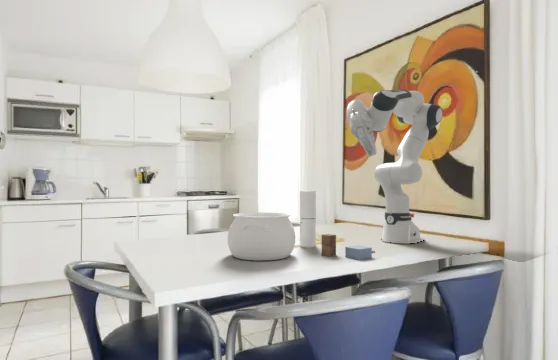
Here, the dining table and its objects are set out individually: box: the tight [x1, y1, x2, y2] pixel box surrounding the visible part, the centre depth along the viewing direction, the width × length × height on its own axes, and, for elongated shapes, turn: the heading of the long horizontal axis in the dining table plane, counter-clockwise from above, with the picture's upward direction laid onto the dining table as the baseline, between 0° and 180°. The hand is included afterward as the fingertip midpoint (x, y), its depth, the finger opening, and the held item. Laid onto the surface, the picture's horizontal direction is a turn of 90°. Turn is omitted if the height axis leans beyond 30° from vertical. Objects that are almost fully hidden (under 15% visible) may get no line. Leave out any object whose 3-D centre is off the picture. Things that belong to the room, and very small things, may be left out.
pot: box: [227, 212, 296, 262], centre depth 147 cm, size 29×26×16 cm
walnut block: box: [321, 233, 337, 257], centre depth 149 cm, size 4×4×8 cm
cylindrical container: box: [299, 190, 317, 248], centre depth 170 cm, size 7×7×25 cm
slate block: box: [344, 244, 373, 260], centre depth 144 cm, size 7×7×4 cm
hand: (367, 146), depth 145 cm, fingers open, 8 cm apart
